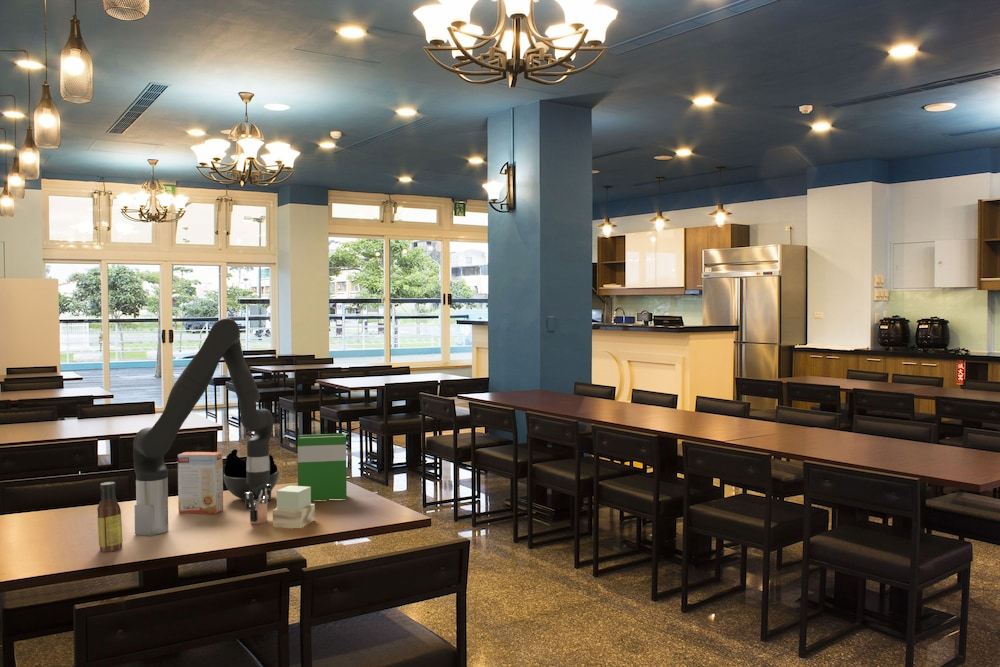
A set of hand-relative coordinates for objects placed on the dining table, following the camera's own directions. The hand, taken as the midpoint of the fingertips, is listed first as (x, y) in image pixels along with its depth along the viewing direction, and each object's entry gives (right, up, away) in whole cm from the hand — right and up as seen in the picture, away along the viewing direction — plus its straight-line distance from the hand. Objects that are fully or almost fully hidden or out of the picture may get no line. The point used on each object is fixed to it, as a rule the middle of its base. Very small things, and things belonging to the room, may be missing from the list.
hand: (258, 518), depth 255 cm
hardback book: (+14, 0, +32) cm, 35 cm away
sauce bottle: (-34, -2, -30) cm, 46 cm away
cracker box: (-25, -1, +14) cm, 28 cm away
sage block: (+13, +5, -3) cm, 14 cm away
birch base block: (+13, -1, -3) cm, 13 cm away
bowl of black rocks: (-13, -1, +31) cm, 34 cm away
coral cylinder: (0, -1, 0) cm, 1 cm away
